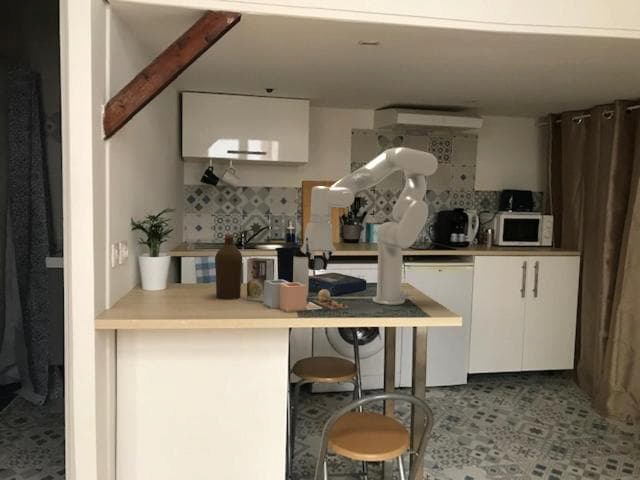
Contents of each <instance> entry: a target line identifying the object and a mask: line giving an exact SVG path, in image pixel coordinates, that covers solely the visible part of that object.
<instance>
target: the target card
mask: <svg viewBox="0 0 640 480" xmlns="http://www.w3.org/2000/svg"><path fill="white" fill-rule="evenodd" d="M322 309H323V306H321V305H320V306H319V305H317V304H316V303H313V302H311V301H309V302H308V301H307V300H306V311H310V310H311V311H312V310H313V311H314V310H322Z"/></svg>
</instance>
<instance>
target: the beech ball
mask: <svg viewBox="0 0 640 480" xmlns="http://www.w3.org/2000/svg"><path fill="white" fill-rule="evenodd" d="M330 293H331V292H330V291H329V290H328V289H326V288H325V289H324V288H323V289H321V290H319V291H318V297H317V298H319V299H320V300H323V301H327V300H328V299H331V294H330Z"/></svg>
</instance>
